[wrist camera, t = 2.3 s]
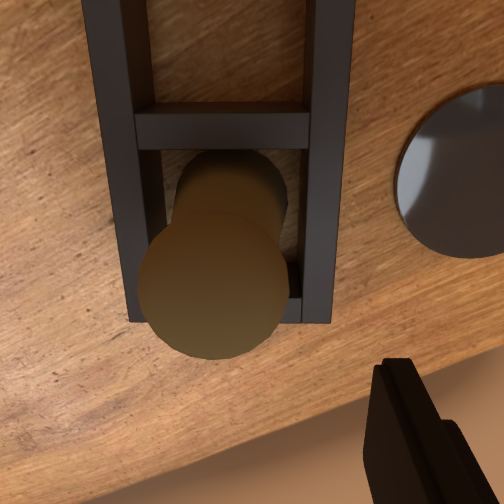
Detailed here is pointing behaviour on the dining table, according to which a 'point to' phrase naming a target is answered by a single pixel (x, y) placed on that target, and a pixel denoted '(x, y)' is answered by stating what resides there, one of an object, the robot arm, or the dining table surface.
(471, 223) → the coaster
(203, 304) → the cork
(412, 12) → the dining table surface
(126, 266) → the holder
